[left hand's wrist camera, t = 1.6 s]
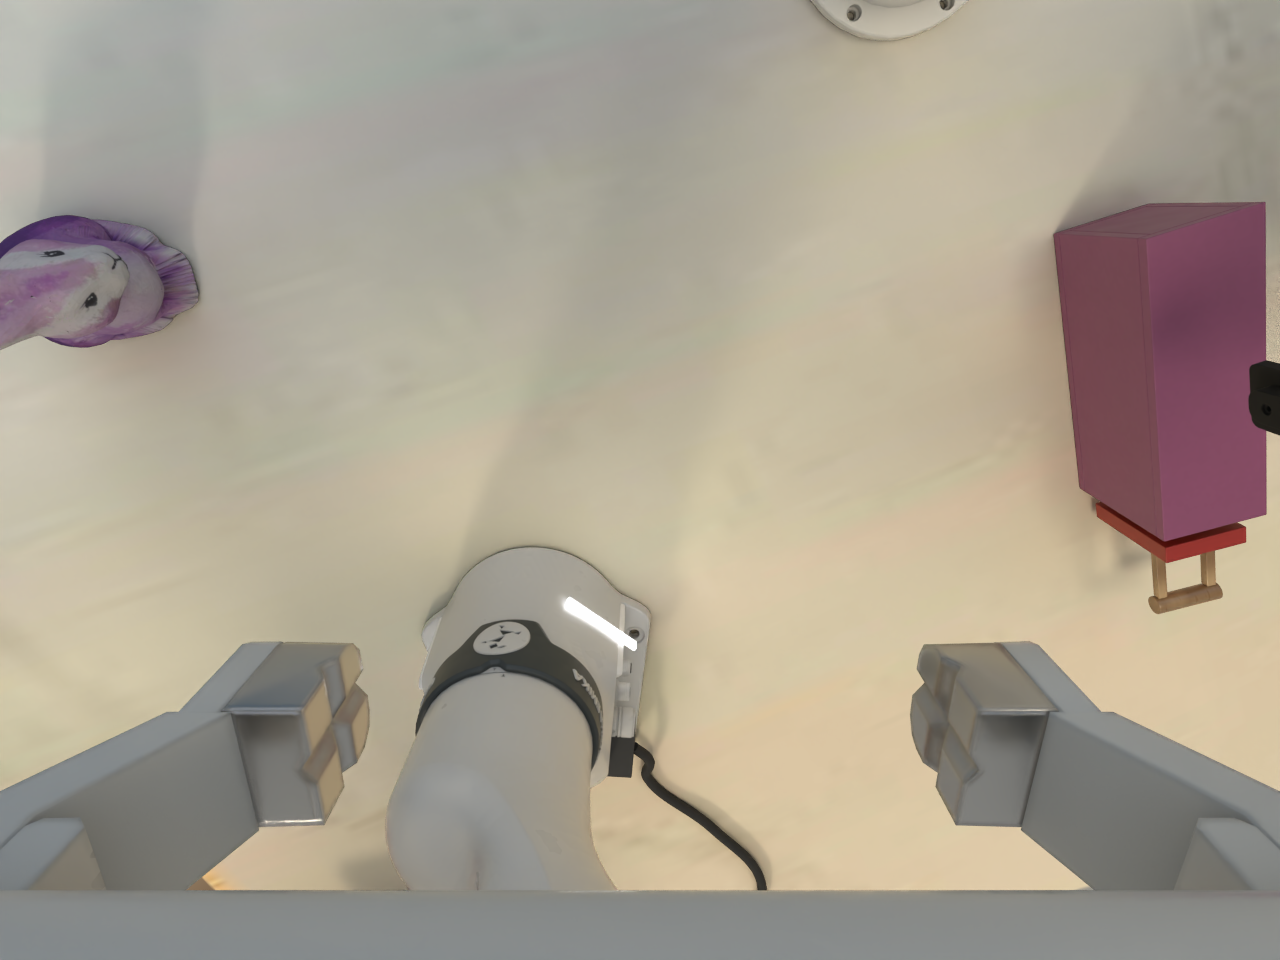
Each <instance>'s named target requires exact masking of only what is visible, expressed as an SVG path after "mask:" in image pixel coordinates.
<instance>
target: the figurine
mask: <svg viewBox="0 0 1280 960" xmlns="http://www.w3.org/2000/svg"><path fill="white" fill-rule="evenodd" d="M191 268H192V267H191V265H190V264H189V261H188V260H187V259H186V257H185V255H184V254H183V253H181V252H180V251H179V250H176V249H173V248H171V247H168V246H165V245H163V244H162V243H161V242H160V241H159V240H158V238H157V237H156V236H155V235H154V234H153V233H151V232H150V231H148V230H147V229H145V228H141V227H138V226H134V225H129V224H123V223H118V222H113V221H105V220H90V219H88V218H84V217H79V216H73V215H64V216H55V217H51V218H47V219H43V220H40V221H37V222H35V223H32V224H30V225H28V226H26V227H24V228H22V229H20V230H18V231H17V232H15V233H13V234H12V235H10V236H8V237H7V238H6V239H4V240H3V241H2V242H1V243H0V350H2V349H4V348H6V347H8V346H11V345H13V344H15V343H18V342H20V341H23V340H25V339H28V338H31V337H34V336H37V335H38V336H43V337H45V338H47V339H48V340H50V341H53V342H55V343H58V344H60V345H65V346H70V347H80V348H81V347H92V346H97V345H101V344H104V343H106V342H108V341H109V340H120V339H125V338H131V337H137V336H142V335H147V334H149V333H154V332H156V331H159V330H161V329H164V328H165V327H166V326H167V325H168V324H169V323H170V322H171V321H172V320H173V318H174V316H175V315H176V314H179V313H180V312H183V311H186V310H188V309H190V308H192V307H193V306H194V305H195V304H196V303H197V302H198V295H199V294H198V293H197V292H198V290H197V286H196V285H195V284H196V282H195V281H194V280H195V278H194V277H193V276H194V274H193V273H192V272H193V271H192V269H191Z"/></svg>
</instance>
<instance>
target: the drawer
mask: <svg viewBox="0 0 1280 960" xmlns="http://www.w3.org/2000/svg"><path fill="white" fill-rule="evenodd" d="M1096 511H1097V517H1098V518H1100V519H1101V520H1103V521H1104V522H1106V523H1107V524H1109V525H1110V526H1112V527H1113V528H1115V529H1116V530H1118V531H1119V532H1121V533H1122V534H1124V535H1125V536H1127V537H1128V538H1130V539H1131V540H1133V541H1134V542H1136V543H1137V544H1139V545H1140V546H1142V547H1143V548H1145V549H1146V550H1148V551H1149V552H1151V558H1152V573H1153V588H1154V595H1155V596H1151V597H1149V599H1148V602H1149V605H1150V607H1151V609H1152V610H1153V611H1154V612H1155V613H1156V614H1161V613H1165V612H1169V611H1173V610H1177V609H1181V608H1184V607H1188V606H1192V605H1196V604H1200V603H1204V602H1208V601H1212V600H1216V599H1220V598H1221V597H1222V596H1223V593H1222V590H1221V588H1220V586H1219V585H1218V584H1217V583H1216V576H1215V550H1219V549H1223V548H1226V547H1230V546H1234V545H1238V544H1242V543H1245V542H1246V527H1245V526H1243V525H1241V524H1239V523H1237V522H1236V523H1232V524H1229V525H1225V526H1221V527H1217V528H1213V529H1210V530H1206V531H1202V532H1198V533H1195V534H1191V535H1187V536H1183V537H1179V538H1176V539H1172V540H1168V541H1163V540H1161V539H1159V538H1158V537H1157V536H1155V535H1153V534H1152V533H1150V532H1149V531H1147V530H1145V529H1144V528H1142V527H1141V526H1139V525H1137V524H1136V523H1134V522H1133V521H1131V520H1130V519H1128V518H1126V517H1125V516H1123V515H1122V514H1120V513H1118V512H1117V511H1115V510H1114V509H1112V508H1111V507H1109V506H1107V505H1106V504H1104V503H1103V502H1099V503H1096ZM1196 555H1200V557H1201V582H1202V584H1198V585H1194V586H1190V587H1186V588H1182V589H1178V590H1174V591H1171V592H1167V583H1166V566H1165V562H1166V563H1169V562H1173V561H1177V560H1180V559H1184V558H1188V557H1192V556H1196Z"/></svg>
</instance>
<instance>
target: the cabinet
mask: <svg viewBox="0 0 1280 960" xmlns="http://www.w3.org/2000/svg"><path fill="white" fill-rule="evenodd" d="M1054 242H1055V252H1056V262H1057V271H1058V281H1059V291H1060V300H1061V310H1062V320H1063V329H1064V339H1065V349H1066V358H1067V368H1068V378H1069V387H1070V397H1071V407H1072V416H1073V426H1074V436H1075V445H1076V455H1077V465H1078V474H1079V484H1080V488H1081V489H1082V490H1084V491H1085V492H1087V493H1088V494H1090V495H1091V496H1093V497H1095V498H1096V499H1098V500H1099V501H1101V502H1103V503H1104V504H1106V505H1107V506H1109V507H1111V508H1112V509H1114V510H1115V511H1117V512H1118V513H1120V514H1122V515H1123V516H1125V517H1126V518H1128V519H1130V520H1131V521H1133V522H1134V523H1136V524H1137V525H1139V526H1141V527H1142V528H1144V529H1145V530H1147V531H1149V532H1150V533H1152V534H1153V535H1155V536H1157V537H1158V538H1159V539H1161V540H1163V541H1168V540H1172V539H1176V538H1179V537H1183V536H1187V535H1191V534H1195V533H1198V532H1202V531H1206V530H1210V529H1213V528H1217V527H1221V526H1225V525H1229V524H1232V523H1236V522H1240V521H1244V520H1247V519H1251V518H1255V517H1259V516H1263V515H1266V430H1263V429H1260V428H1258V427H1256V426H1255V425H1254V424H1253V422H1252V418H1251V414H1250V412H1249V404H1248V398H1249V394H1250V378H1249V368H1250V366H1251V365H1253V364H1256V363H1259V362H1262V361H1266V203H1265V202H1232V203H1157V204H1146V205H1143V206H1140V207H1137V208H1133V209H1130V210H1127V211H1124V212H1121V213H1118V214H1114V215H1111V216H1108V217H1105V218H1102V219H1099V220H1095V221H1092V222H1089V223H1086V224H1083V225H1079V226H1076V227H1073V228H1070V229H1067V230H1064V231H1060V232H1057V233H1055V234H1054Z"/></svg>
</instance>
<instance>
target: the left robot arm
mask: <svg viewBox="0 0 1280 960" xmlns="http://www.w3.org/2000/svg"><path fill="white" fill-rule="evenodd" d="M650 623H651V614H650V612H649V610H648V609H647V608H646V607H645V606H644V605H642V604H641V603H639V602H637V601H635V600H633V599H631V598H629V597H627V596H624V595H622V594H620V593H619V592H618V591H617V590H616V589H614V588H613V587H612V585H611V584H610V583H609V582H608V581H607V580H606V579H605V578H604V577H603V576H602V575H601V574H600V573H599V572H598V571H597V570H596V569H594V568H593V567H592V566H590V565H589V564H588V563H586V562H584V561H583V560H581V559H579V558H577V557H575V556H573V555H570V554H567V553H565V552H561V551H558V550H554V549H548V548H540V547H524V548H516V549H511V550H507V551H503V552H500V553H497V554H495V555H492V556H490V557H488V558H486V559H485V560H483V561H481V562H480V563H479V564H477V565H476V566H475V567H473V568H472V569H471V570H470V571H469V572H468V573H467V574H466V575H465V576H464V578H463V579H462V580H461V582H460V583H459V585H458V586H457V588H456V590H455V592H454V594H453V596H452V598H451V600H450V601H449V603H448V604H447V606H446V607H445V608H443V609H442V610H440V611H439V612H438V613H436V614H435V615H434V616H432V617H431V618H430V619H429V620H428V621H427V622H426V624H425V625H424V628H423V631H422V641H423V643H424V645H425V647H426V650H427V652H428V654H427V657H426V660H425V663H424V666H423V669H422V672H421V675H420V678H419V689H421V690H423V692H424V697H423V699H422V702H421V705H420V706H421V707H420V709H419V715H418V718H417V723H416V732H415V733H416V738H415V740H414V742H413V745H412V747H411V749H410V752H409V754H408V756H407V759H406V761H405V763H404V766H403V768H402V770H401V773H400V775H399V778H398V780H397V782H396V785H395V787H394V789H393V792H392V794H391V796H390V799H389V802H388V806H387V813H386V820H385V833H386V844H387V848H388V852H389V856H390V858H391V861H392V863H393V866H394V868H395V869H396V871H397V873H398V875H399V876H400V878H401V879H402V880H403V882H404V883H405V885H406V886H407V888H408V889H409V890H186V889H188V888H189V887H190V886H191V885H193V884H194V883H195V882H196V881H197V880H199V879H200V878H201V877H202V876H204V875H205V874H206V873H207V872H209V871H210V870H211V869H212V868H213V867H215V866H216V865H217V864H218V863H220V862H221V861H222V860H223V859H224V858H226V857H227V856H228V855H229V854H231V853H232V852H233V851H234V850H235V849H237V848H238V847H239V846H240V845H242V844H243V843H244V842H245V841H247V840H248V839H249V838H250V837H251V836H253V835H254V834H255V833H256V832H258V831H259V828H258V827H276V826H311V825H325V823H326V821H327V819H328V817H329V815H330V813H331V811H332V809H333V807H334V806H335V804H336V802H337V800H338V798H339V796H340V794H341V792H342V790H343V788H344V781H343V775H342V772H344V771H345V770H347V769H348V768H350V767H351V766H353V765H354V764H356V763H357V761H358V759H359V757H360V755H361V753H362V751H363V749H364V747H365V743H366V739H367V734H368V730H369V715H370V709H369V702H368V695H367V694H366V693H365V692H364V691H363V690H362V689H361V688H360V687H359V686H358V685H357V684H356V683H355V682H356V680H357V679H358V677H359V675H360V674H361V672H362V670H363V665H362V660H361V655H360V650H359V649H358V648H357V647H356V646H355V645H354V644H353V643H316V642H285V643H284V642H249V643H246V644H242V645H241V646H240V647H239V648H238V649H237V651H236V652H235V653H234V654H233V655H232V656H231V657H230V658H229V659H228V660H227V661H226V662H225V663H224V664H223V665H222V666H221V668H220V669H219V670H218V671H217V672H216V673H215V674H214V675H213V676H212V677H211V678H210V679H209V680H208V681H207V682H206V683H205V684H204V686H203V687H202V688H201V689H200V690H199V691H198V692H197V693H196V694H195V695H194V696H193V697H192V698H191V699H190V700H189V701H188V702H187V704H186V705H185V706H184V707H183V708H182V709H181V710H180V711H179V712H166V713H164V714H162V715H160V716H157V717H155V718H153V719H151V720H149V721H147V722H145V723H143V724H141V725H139V726H136V727H134V728H132V729H130V730H128V731H126V732H124V733H122V734H120V735H118V736H115V737H113V738H111V739H109V740H107V741H105V742H103V743H101V744H99V745H97V746H94V747H92V748H90V749H88V750H86V751H84V752H82V753H80V754H78V755H75V756H73V757H71V758H69V759H67V760H65V761H63V762H61V763H59V764H57V765H54V766H52V767H50V768H48V769H46V770H44V771H42V772H40V773H38V774H36V775H33V776H31V777H29V778H27V779H25V780H23V781H21V782H19V783H17V784H15V785H12V786H10V787H8V788H6V789H4V790H2V791H0V960H1280V791H1278V790H1276V789H1273V788H1271V787H1269V786H1267V785H1265V784H1263V783H1261V782H1259V781H1257V780H1255V779H1253V778H1250V777H1248V776H1246V775H1244V774H1242V773H1240V772H1238V771H1236V770H1234V769H1232V768H1229V767H1227V766H1225V765H1223V764H1221V763H1219V762H1217V761H1215V760H1213V759H1211V758H1208V757H1206V756H1204V755H1202V754H1200V753H1198V752H1196V751H1194V750H1192V749H1190V748H1188V747H1185V746H1183V745H1181V744H1179V743H1177V742H1175V741H1173V740H1171V739H1169V738H1167V737H1164V736H1162V735H1160V734H1158V733H1156V732H1154V731H1152V730H1150V729H1148V728H1146V727H1143V726H1141V725H1139V724H1137V723H1135V722H1133V721H1131V720H1129V719H1127V718H1125V717H1123V716H1120V715H1118V714H1116V713H1114V712H1101V711H1100V710H1099V709H1098V708H1097V707H1096V706H1095V705H1094V703H1093V702H1092V701H1091V700H1090V699H1089V698H1088V697H1087V696H1086V695H1085V694H1084V693H1083V692H1082V691H1081V690H1080V689H1079V688H1078V687H1077V685H1076V684H1075V683H1074V682H1073V681H1072V680H1071V679H1070V678H1069V677H1068V676H1067V675H1066V674H1065V673H1064V672H1063V671H1062V670H1061V668H1060V667H1059V666H1058V665H1057V664H1056V663H1055V662H1054V661H1053V660H1052V659H1051V658H1050V657H1049V656H1048V655H1047V654H1046V653H1045V651H1044V650H1043V649H1042V648H1041V647H1040V646H1039V645H1037V644H1035V643H1032V642H1030V641H1021V642H994V643H965V644H924V645H923V648H922V650H921V652H920V654H919V659H918V665H917V670H918V672H919V674H920V675H921V677H922V679H923V680H924V682H925V683H924V684H923V685H922V686H921V687H920V688H919V689H918V690H917V691H916V692H915V693H914V694H913V696H912V704H911V712H910V719H911V730H912V736H913V740H914V743H915V746H916V749H917V751H918V753H919V755H920V757H921V759H922V761H923V763H924V764H926V765H927V766H929V767H930V768H932V769H933V770H935V771H936V772H938V775H937V781H936V788H937V790H938V792H939V794H940V796H941V798H942V800H943V802H944V804H945V805H946V807H947V809H948V811H949V813H950V815H951V817H952V819H953V821H954V822H955V824H956V825H968V826H1003V827H1022V828H1021V830H1022V831H1023V832H1024V833H1025V834H1026V835H1028V836H1029V837H1030V838H1031V839H1033V840H1034V841H1035V842H1036V843H1037V844H1039V845H1040V846H1041V847H1042V848H1044V849H1045V850H1046V851H1047V852H1048V853H1050V854H1051V855H1052V856H1053V857H1055V858H1056V859H1057V860H1058V861H1059V862H1061V863H1062V864H1063V865H1064V866H1066V867H1067V868H1068V869H1069V870H1070V871H1072V872H1073V873H1074V874H1075V875H1077V876H1078V877H1079V878H1080V879H1082V880H1083V881H1084V882H1085V883H1086V884H1088V885H1089V886H1090V887H1091V888H1093V889H1094V890H767V887H766V881H765V878H764V876H763V873H762V871H761V869H760V868H759V866H758V864H757V863H756V861H755V860H754V859H753V858H752V856H751V855H750V854H749V853H748V852H747V851H746V850H745V849H744V848H742V847H741V846H740V845H739V844H738V843H737V842H735V841H734V840H733V839H732V838H731V837H729V836H728V835H727V834H726V833H725V832H723V831H722V830H721V829H720V828H719V827H718V826H717V825H715V824H714V823H713V822H712V821H711V820H710V819H708V818H707V817H706V816H704V815H703V814H702V813H700V812H699V811H697V810H696V809H694V808H693V807H691V806H690V805H688V804H687V803H685V802H684V801H682V800H680V799H679V798H677V797H676V796H674V795H673V794H671V793H670V792H668V791H667V790H666V789H664V788H663V787H662V786H661V785H660V784H659V783H658V782H657V781H656V780H655V779H654V778H653V777H652V775H651V772H652V770H653V768H654V764H655V761H654V758H653V756H652V755H651V753H650V752H649V751H647V750H646V749H645V748H643V747H642V746H640V745H639V744H638V743H636V742H635V734H636V727H637V720H638V712H639V705H640V697H641V690H642V682H643V675H644V667H645V660H646V653H647V645H648V638H649V630H650ZM631 630H638V631H639V632H638V633H636V634H633V633H631V632H630V631H631ZM634 754H635V755H636V756H638V757H639V758H641V759H642V760H643V761H644V762H645V764H644V766H643V768H642V772H641V776H642V778H643V780H644V782H645V783H646V784H647V786H648V787H649V788H650V789H651V790H652V791H653V792H654V793H655V794H656V795H657V796H659V797H660V798H661V799H663V800H664V801H666V802H667V803H668V804H670V805H672V806H673V807H675V808H676V809H678V810H679V811H681V812H683V813H684V814H686V815H687V816H689V817H690V818H692V819H693V820H695V821H696V822H698V823H699V824H700V825H702V826H703V827H704V828H705V829H707V830H708V831H709V832H710V833H711V834H712V835H713V836H715V837H716V838H717V839H718V840H719V841H720V842H722V843H723V844H724V845H725V846H727V847H728V848H729V849H730V850H731V851H733V852H734V853H735V854H736V855H737V856H739V857H740V858H741V859H742V860H743V861H744V862H745V863H746V864H747V866H748V867H749V868H750V870H751V871H752V873H753V874H754V877H755V879H756V882H757V886H758V890H618V889H617V888H616V887H615V885H614V884H613V882H612V881H611V879H610V878H609V876H608V875H607V873H606V871H605V869H604V867H603V865H602V863H601V862H600V860H599V857H598V855H597V852H596V850H595V847H594V843H593V839H592V833H591V820H590V788H592V787H594V786H596V785H598V784H599V783H601V782H602V781H603V780H604V779H605V778H606V777H607V776H612V777H628V778H631V776H632V765H633V755H634Z"/></svg>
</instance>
